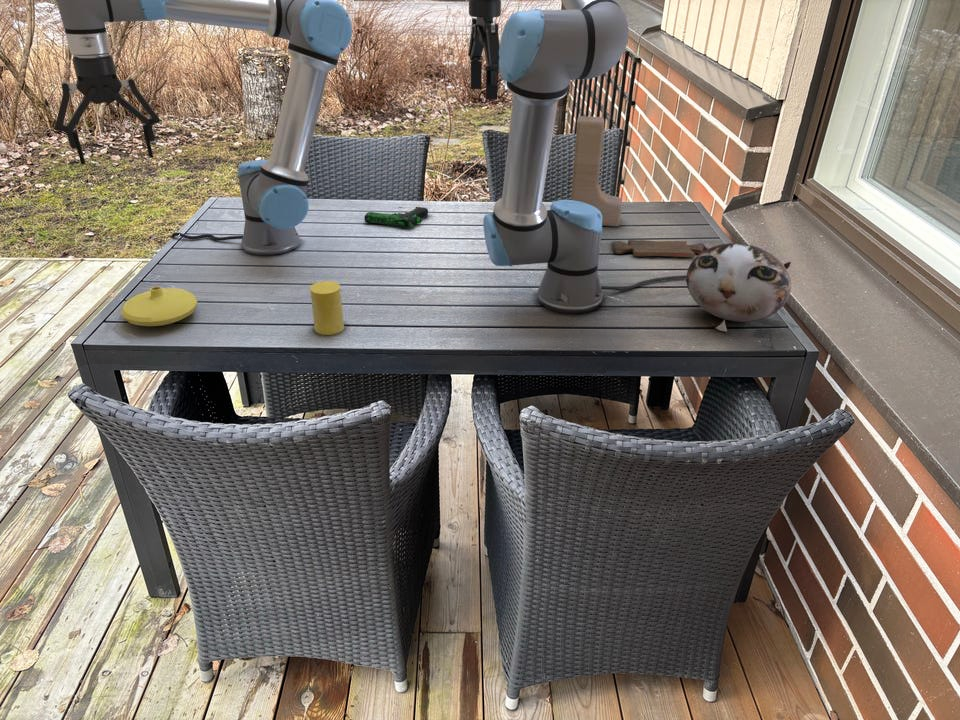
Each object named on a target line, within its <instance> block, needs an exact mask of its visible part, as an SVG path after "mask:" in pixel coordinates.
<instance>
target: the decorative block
mask: <svg viewBox="0 0 960 720" xmlns="http://www.w3.org/2000/svg"><path fill="white" fill-rule="evenodd" d="M604 131H605V118H604V117H603V116H588V115H587V116H585V115H579V116H578V117H577V121H576V133H575V147H574V158H573V160H574V161H573V170H572V171H573V172H572V181H571V183H572V184H571V193H570V194H571V195H570V197H571V198H570V200H573V201H579V202H583V203H586V204H589V205H592V206H594V207H595V208H597V209H598V210H599V211H600V212H601V214H602V227H604V226H606V227H620V226H621V217H622V209H623V203H622V198H621V197H619V196H615V195H611V194H607V193H606V192H604V191H603V190H602V187H601V185H600V174H601V173H600V171H601V162H602V153H603V141H604Z"/></svg>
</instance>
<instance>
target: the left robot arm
mask: <svg viewBox="0 0 960 720" xmlns="http://www.w3.org/2000/svg"><path fill="white" fill-rule="evenodd" d="M56 5H57V8H58V11H59V15H60V19H61V23H62V26H63V29H64V33H65V38H66V42H67V46H68V49H69V53H70V54H71V55H72V56H73V57H72V59H71V61H72V64H73V68H74V69H73V70H74V72H75V76H76V82H68V81H66V80H65V81H61V90H62V96H61V99H60V104H59V109H58V111H57V117H56V120H55V124H54V129H55V130H56V131H57V132H63V133H65V134H66V137H67V140H68V144H69V147H70V148H71V149H76V150H77V154H78V157H79V161H80V164H81V165H83V166H84V165H86V159H85V155H84V152H83V149H82V145H81V142H80V137H79V134H78V131H77V130H75V128H76V126H77V125H78V123H79V121H80V120H81V118H82V116H83V115H84V113H85V111H86V110H87V108H88V107H89V106H90V103H92V104H95V105H100V104H112V103H114V102H115V101H116V102H117V103H118V104H119V105H121V106H122V107H123V108H124V109H126V110H127V111H128V112H130V114H132V115H133V116H134V117H135V118H137V119H138V120H139V121H140V122H142V124H141V127H142V132H143V136H144V140H145V145H146V149H147V153H148V157H149V159H151V158H152V159H153V158H154V153H153V150H152V144H151V142H155V140H156V137H155V133H154V129H153V128H154V127H153V126H154V125H155V124H159V123H160V121H161V120H160V117H159V116H158V114H157V113H156V111H155V110H154V108H153V107H152V106H151V105H150V103H149V102H148V101H147V99H146V98H145V97H144V96H143V94H142V93H141V92H140V90H139V89H138V88H137V85H136V82H135V80H134V78H133V77H128V78H127V79H126V78H125V79H121V80H120V79H119V78H118V74H117V70H116V66H115V61H114V58H113V56H112V54H110V53H111V52H112V49H111V44H110V40H109V36H108V32H107V28H106V23H114V22H116V23H117V22H148V23H149V22H153V21H163V20H164V21H173V22H181V23H182V22H183V23H188V24H189V23H190V24H199V25H207V26H217V27H225V28H231V29H241V30H248V31H249V30H251V31H256V32H264V33H266V35H267V36H268V37H270V38H279V39H283V40H287V41H288V45H287V52H288V54H289V56H290V58H291V62H290V68H289V71H288V77H287V81H286V85H285V90H284V94H283V99H282V103H281V107H280V111H279V115H278V121H277V125H276V129H275V134H274V138H273V143H272V146H271V151H270V154H269V155H270V156H269V159H256V160H250V161H246V162H243V163H240V164H239V165H238V166H237V179H238V183H239V190H240V196H241V201H242V208H243V212H244V213H243V215H244V219H245V220H244V226H243V228H244V229H243V235H230V236H229V235H228V236H222V237H221V236H215V235H213V234H210V233H204V234H199V235H187V234H184V233H181V232H174V233H172V234H171V235H170V237H169V238H170V239H174V238H175V237H181V238H184V239H187V240H199V239H204V238H210V239H212V240H214V241H218V242H219V241H220V242H221V241H222V242H223V241H230V240H241V246H242V249H243V251H244V252H246V253H248V254H252V255H255V256H256V255H257V256H275V255H281V254H282V255H283V254H285V253H289V252H291V251H293V250H296V249H297V248H298V247H299V246H300V244H301V241H300V235H299V233H298V231H297V229H296V227H297V226H298V225H300V224H301V223H302V222H303V221H304V220H305V218H306V216H307V215H308V213H309V199H308V197H307V195H306V194H307V189H308V184H309V180H310V178H309V176H308V174H307V173H306V166H307V162H308V158H309V153H310V149H311V145H312V142H313V137H314V133H315V128H316V125H317V121H318V116H319V112H320V108H321V106H322V101H323V96H324V92H325V88H326V84H327V81H328V76H329V73H330V72H331V71H332V70H335V69H336V68H337V67H338V63H339V60H340V55H341V53H342V52H344V51H345V50H346V49H347V47H348V46H349V44H350V42H351V40H352V35H353V25H352V20H351V17H350V15H349V14H348V11H347V10H346V9H345V8H344V6H343V5H342V4H340V3H339V2H337V1H336V0H56ZM122 87H125V89H126V90H127V91H131V93H132V95H133V96H134V97H135V98H136V100H137V101H138V102H139V103H140V105H141V106H142V108H143V109H144V110H145V111H146V112H147V114H148V115H149V117H148V116H146V114H144V113H143V112H141V110H139V109H138V108H137V107H136V106H135V105H133V104H132V103H131V102H130V101H128V100H127V99H126V98H125V97H124V96H123V95H122V94H120V92H121V89H122ZM75 90H78V92H79V93H81V95H83V97H82V99H81V100H80V103H79V104H78V105H77V107H76V109H75V110H74V113H73V114H72V115H71V117H70V119H69V121H68V122H67V124H64V122H65V118H66V113H67V110H68V105H69V102H70V97H71V96H70V95H73V94H74V92H75ZM179 234H180V236H178V235H179Z"/></svg>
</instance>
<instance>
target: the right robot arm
mask: <svg viewBox="0 0 960 720" xmlns="http://www.w3.org/2000/svg"><path fill="white" fill-rule="evenodd" d="M560 2H561V3H562V6H563V7H564V9H540V8H534V9H533V8H532V9H527V10H518V11H515V12H513V13H512V14H510V16H509V18H508V19H507V20H506V22H505V24H504V26H503V29H502V32H501V35H500V36H501V37H499V23H497V22H495V23H494V18H498V17H499V18H500V16H501V15H502V13H501V12H502V0H468V15H469V16H470V17H471V29H470V37H469V44H468V51H467V57H468V58H469V60H470V90H482V89H483V87H482V85H483V83H482V81H483V79H482V78H483V61H484V57H483V51H484V56H485V62H486V66H485V68H484V71H485V100H487V101H489V100H491V101H492V100H498V93H499V92H498V91H499V90H498V89H499V75H500V77H501V79H502V80H503V81H505V82H506V88H507V90H508V91H509V92H510V93H511V94H512V105H511V114H510V120H509V121H510V123H509V131H508V140H507V149H506V150H507V151H506V158H505V168H504V175H503V185H502V192H501V193H502V195H501V197H500V198H498V199H497V200H496V202H494V205H493V212H492V213H491V212H489V213H487V214H485V215H484V216H483V220H482V221H483V235H484V241H485V246H486V250H487V253H488V256H489V260H490V261H491V263H492V264H493V265H495V266H497V267H513V266H525V265H535V264H537V265H538V264H547V266H546V270H545V272H544V275H543V277H542V279H541V281H540V284H539V287H538V289H537V301H538V302H539V304H540V305H542V306H543V307H544V308H547V309H549V310H551V311H554V312H558V313H562V314H572V315H573V314H585V313H590V312H593V311H595V310H597V309H599V308H600V307H601V305H602V303H603V295H604V294H603V290H607V291H608V290H611V291H620V292H621V291H629V290H631V289H635V288H636V287H637V288H638V287H639V286H642V285H645V284H648V283H655V282H660V281H668V280H678V279H679V280H680V279H686V277H687V274H685V275H670V276H663V277H662V276H661V277H656V278H649V279H645V280H642V281H640V282H637V283H634V284H632V285H629V286H625V287H617V286H602V285H601V281H600V277H599V272H598V270H599V269H598V268H599V260H600V252H601V251H600V250H601V243H602V242H601V241H602V235H603V226H602V214H601V212H600V211H599V210H598V209H597V208H595V207H594V206H592V205H589V204H586V203H583V202H579V201H573V200H571V199H557V200H554V201H553V202H552V203H551V205H550V207H549V208H550V209H547V207H546V205H545V204H544V203H543V199H544V193H545V185H546V179H547V172H548V166H549V159H550V155H551V154H550V153H551V147H552V141H553V134H554V128H555V123H556V122H555V121H556V117H557V110H558V103H559V101H560V100H561V99H562V98H564V97H565V96H566V95H567V94H568V91H569V86H570V82H571V81H574V80H590V79H595V78H598V77H600V76H603V75H605V74H606V73H608V72H609V71H611V69H613V68H614V67H615V66H616V65H617V64H618V62H620V60H621V59H622V57H623V54H624V53H625V51H626V48H627V45H628V41H629V32H630V31H629V22H628V19H627V17H626V14H625V12H624V11H623V9H622V8H621V6H620V5H619V4H618V2H616V1H615V0H560Z"/></svg>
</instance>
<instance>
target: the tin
mask: <svg viewBox="0 0 960 720" xmlns="http://www.w3.org/2000/svg"><path fill="white" fill-rule="evenodd" d="M309 293H310V303H311V310H312V317H313V326H314V331H315V332H316V333H317V334H319V335H323V336H332V335H337V334H339V333H341V332H343V331H344V329H345V322H344V312H343V310H344V309H343V299H342V290H341V284H339V283H338V282H336V281H330V280H322V281H318V282H314V283H313V284H311V285H310V287H309Z"/></svg>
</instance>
